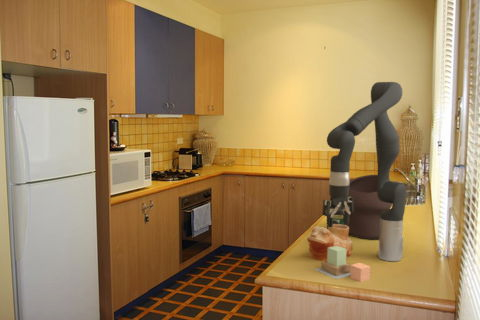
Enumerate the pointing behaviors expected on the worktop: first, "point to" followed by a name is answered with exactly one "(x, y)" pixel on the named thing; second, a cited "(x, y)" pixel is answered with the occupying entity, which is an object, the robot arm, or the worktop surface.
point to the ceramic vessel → (328, 240)
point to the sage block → (336, 256)
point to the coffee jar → (338, 217)
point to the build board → (331, 274)
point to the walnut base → (336, 268)
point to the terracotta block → (360, 272)
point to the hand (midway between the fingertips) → (338, 225)
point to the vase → (365, 208)
